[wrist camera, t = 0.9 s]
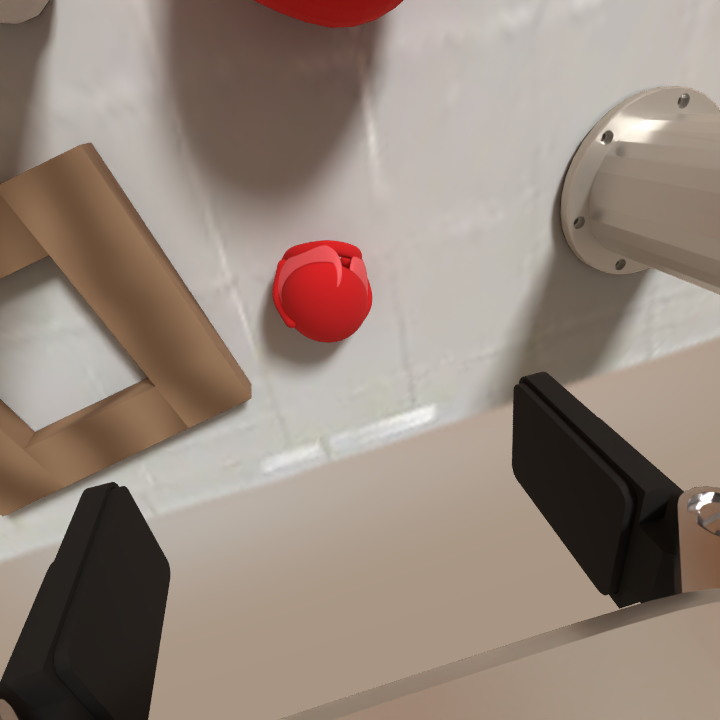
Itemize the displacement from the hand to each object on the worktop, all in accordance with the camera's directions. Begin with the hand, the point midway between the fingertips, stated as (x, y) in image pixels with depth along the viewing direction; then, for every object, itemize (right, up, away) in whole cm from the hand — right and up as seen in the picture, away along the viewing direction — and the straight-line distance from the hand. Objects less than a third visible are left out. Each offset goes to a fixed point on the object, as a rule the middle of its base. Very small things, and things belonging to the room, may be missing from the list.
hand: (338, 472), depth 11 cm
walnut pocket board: (-20, +4, +20) cm, 28 cm away
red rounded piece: (-2, +8, +22) cm, 23 cm away
